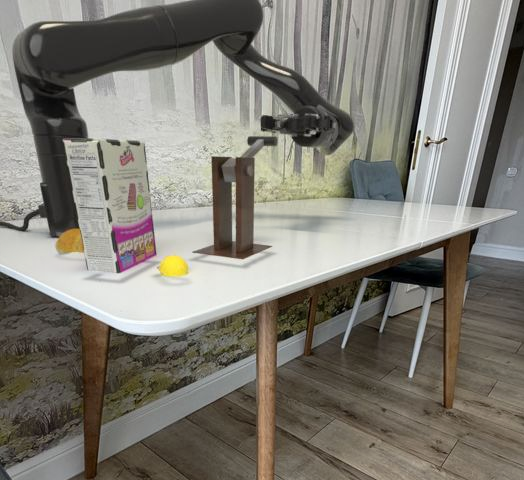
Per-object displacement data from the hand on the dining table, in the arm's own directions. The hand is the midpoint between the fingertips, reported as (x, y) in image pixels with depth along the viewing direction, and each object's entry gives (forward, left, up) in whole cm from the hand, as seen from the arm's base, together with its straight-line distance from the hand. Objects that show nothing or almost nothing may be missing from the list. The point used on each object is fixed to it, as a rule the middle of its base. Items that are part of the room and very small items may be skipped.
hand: (284, 121), depth 72 cm
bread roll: (-36, -10, -21) cm, 43 cm away
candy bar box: (-30, -21, -21) cm, 42 cm away
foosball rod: (-9, -11, -7) cm, 16 cm away
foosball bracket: (-13, -15, -21) cm, 29 cm away
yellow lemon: (-24, -27, -21) cm, 42 cm away
